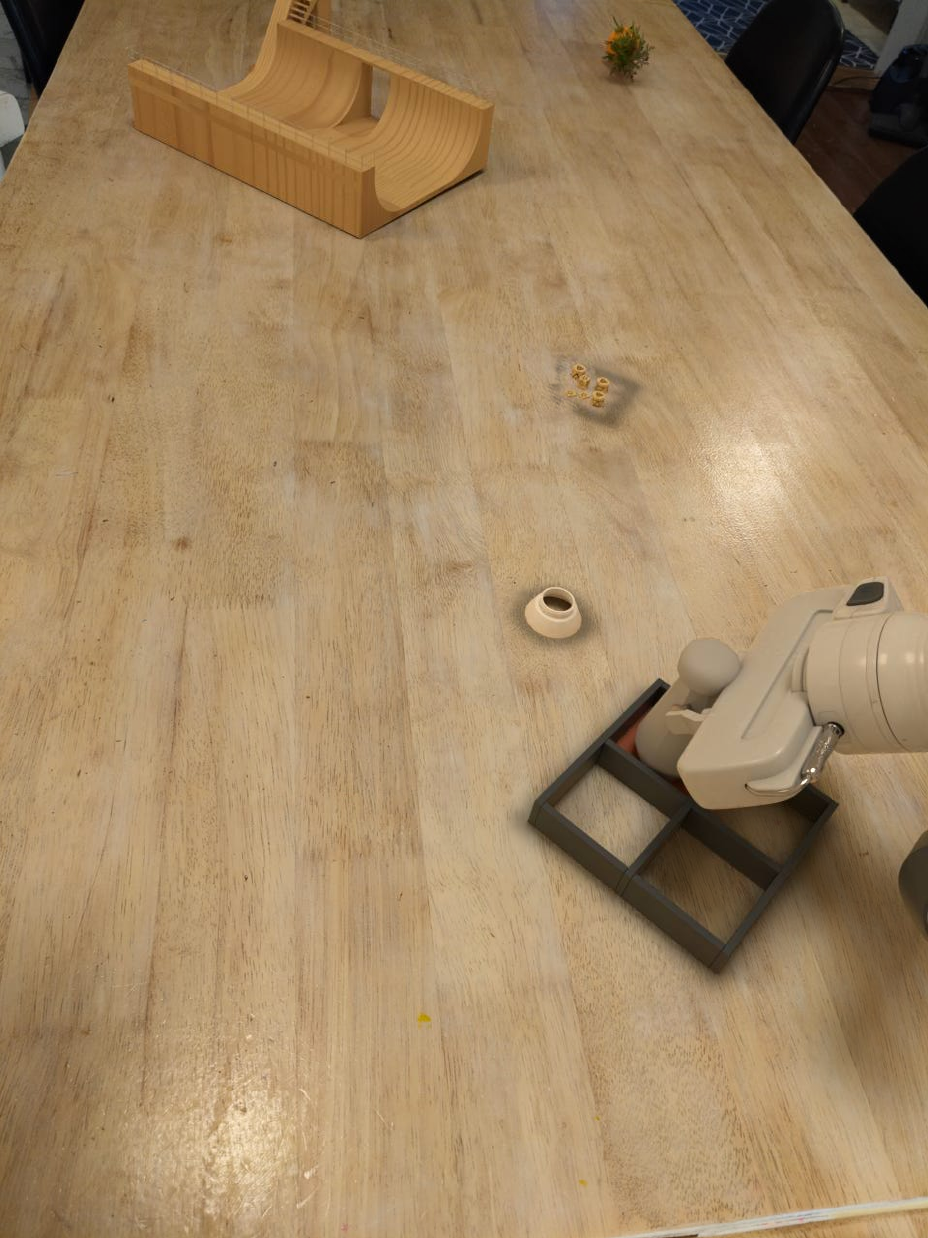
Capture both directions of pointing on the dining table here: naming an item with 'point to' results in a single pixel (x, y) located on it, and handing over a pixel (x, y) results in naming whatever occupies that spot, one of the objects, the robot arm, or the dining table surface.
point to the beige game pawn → (685, 702)
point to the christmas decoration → (626, 49)
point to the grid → (668, 834)
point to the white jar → (553, 615)
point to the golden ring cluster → (584, 382)
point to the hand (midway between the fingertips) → (683, 700)
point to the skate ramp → (321, 124)
